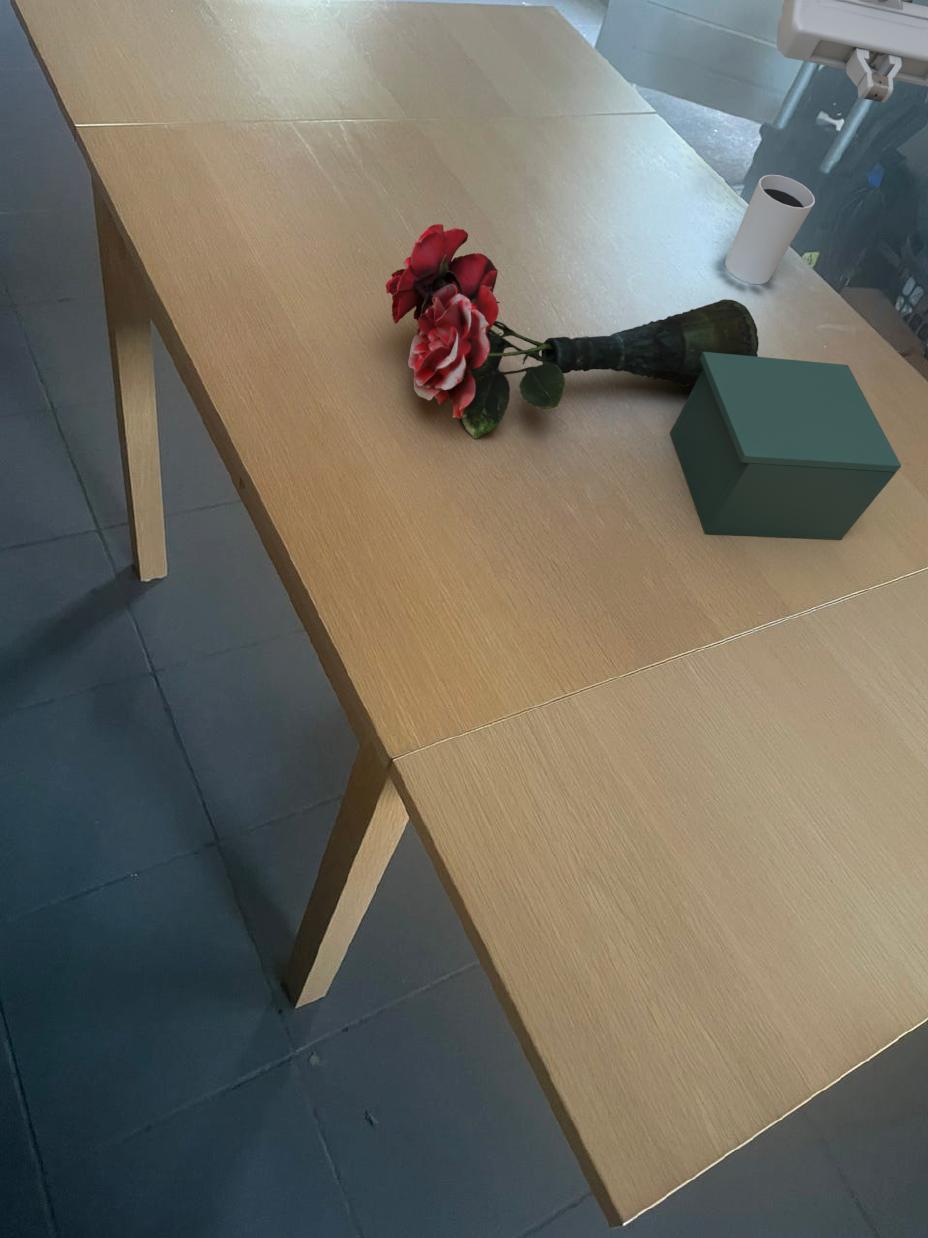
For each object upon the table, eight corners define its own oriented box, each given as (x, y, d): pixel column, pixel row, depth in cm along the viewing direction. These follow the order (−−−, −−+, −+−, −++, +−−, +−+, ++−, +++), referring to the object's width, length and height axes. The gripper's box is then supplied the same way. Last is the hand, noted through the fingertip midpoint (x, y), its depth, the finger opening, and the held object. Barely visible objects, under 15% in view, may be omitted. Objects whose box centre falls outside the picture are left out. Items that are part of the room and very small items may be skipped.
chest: (704, 534, 83) (749, 463, 76) (669, 432, 90) (707, 359, 83) (841, 540, 86) (896, 472, 79) (796, 441, 93) (843, 371, 86)
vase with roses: (671, 426, 103) (377, 452, 88) (658, 254, 100) (353, 252, 86) (773, 408, 89) (443, 435, 74) (761, 208, 86) (417, 196, 72)
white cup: (778, 290, 109) (821, 213, 101) (726, 281, 108) (765, 201, 100) (767, 258, 113) (807, 180, 105) (717, 248, 112) (753, 169, 104)
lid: (740, 462, 75) (745, 455, 75) (699, 358, 83) (702, 351, 82) (896, 472, 79) (902, 465, 78) (843, 371, 86) (848, 364, 85)
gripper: (936, 40, 105) (947, 136, 101) (768, 4, 102) (771, 101, 98) (974, -12, 99) (987, 89, 95) (796, -51, 96) (801, 50, 92)
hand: (875, 95), depth 96 cm, fingers closed
